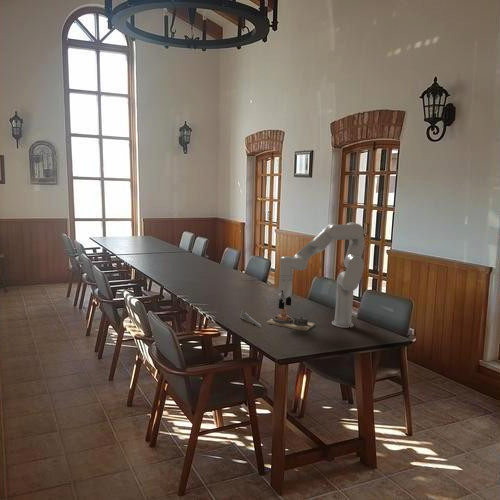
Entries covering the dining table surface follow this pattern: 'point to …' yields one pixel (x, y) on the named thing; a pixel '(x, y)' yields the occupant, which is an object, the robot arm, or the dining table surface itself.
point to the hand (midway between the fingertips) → (284, 306)
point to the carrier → (293, 323)
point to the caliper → (245, 315)
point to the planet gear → (283, 315)
